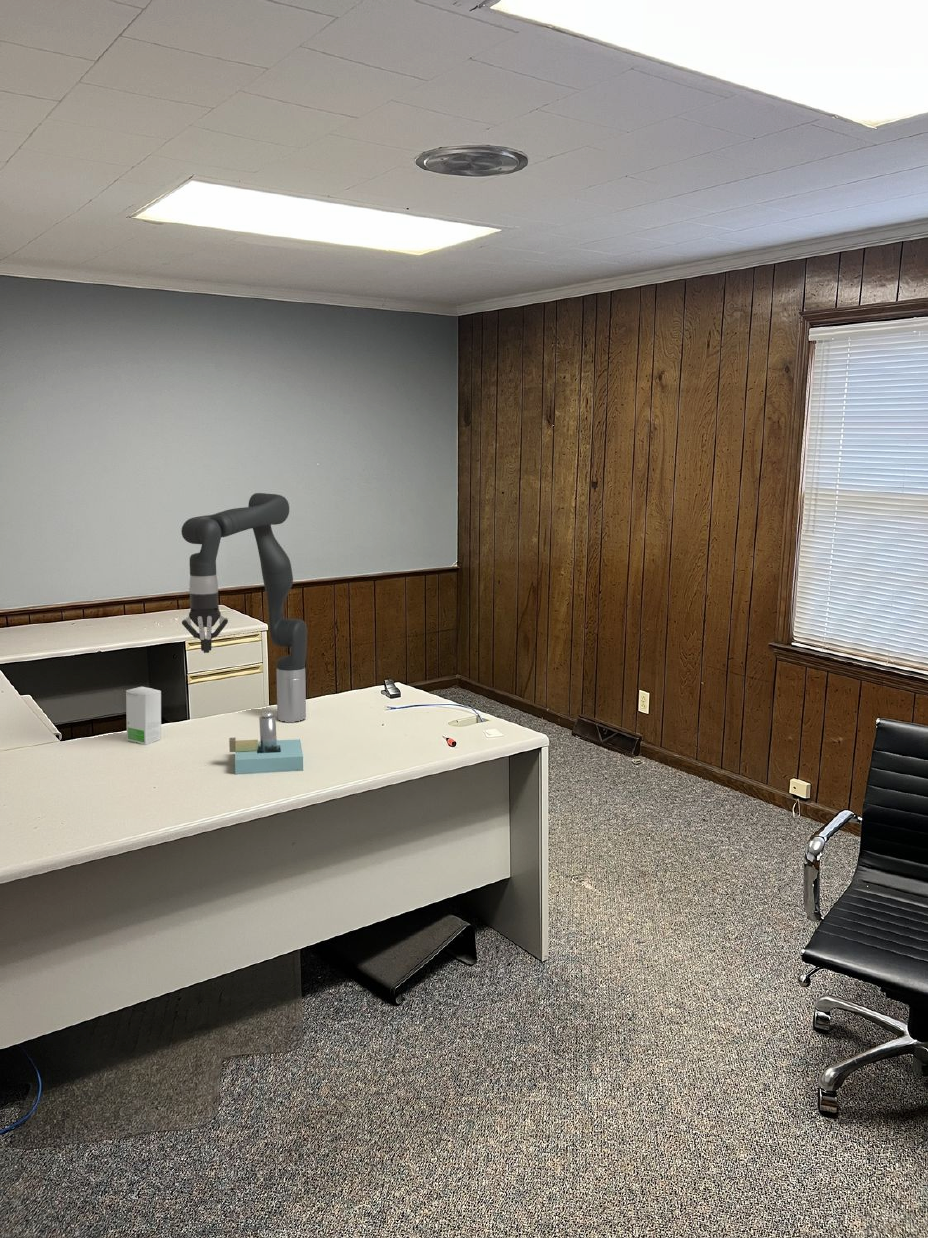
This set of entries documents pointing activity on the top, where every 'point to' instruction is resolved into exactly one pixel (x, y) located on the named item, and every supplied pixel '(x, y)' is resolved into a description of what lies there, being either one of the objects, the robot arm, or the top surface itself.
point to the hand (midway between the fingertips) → (206, 652)
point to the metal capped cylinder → (268, 733)
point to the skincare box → (143, 715)
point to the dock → (271, 759)
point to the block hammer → (242, 745)
